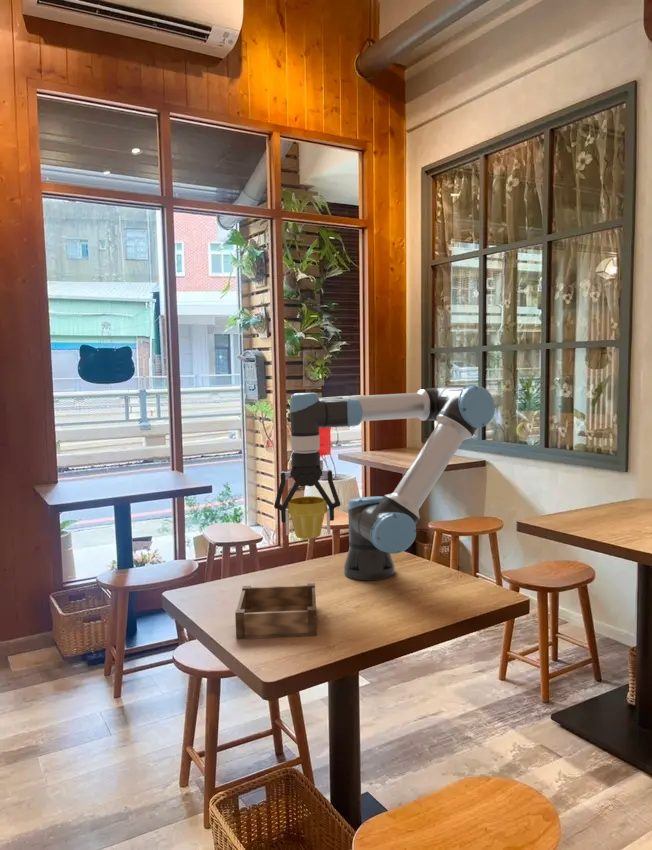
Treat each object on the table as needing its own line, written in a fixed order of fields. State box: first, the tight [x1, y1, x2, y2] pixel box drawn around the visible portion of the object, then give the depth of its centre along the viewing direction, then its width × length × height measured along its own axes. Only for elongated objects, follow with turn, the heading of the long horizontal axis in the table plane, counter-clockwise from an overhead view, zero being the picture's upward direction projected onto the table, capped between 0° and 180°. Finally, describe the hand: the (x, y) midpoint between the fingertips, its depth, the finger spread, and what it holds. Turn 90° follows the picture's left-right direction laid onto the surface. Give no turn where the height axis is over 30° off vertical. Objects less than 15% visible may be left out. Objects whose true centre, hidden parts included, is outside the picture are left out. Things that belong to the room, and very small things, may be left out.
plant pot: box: [287, 495, 328, 540], centre depth 172 cm, size 10×10×10 cm
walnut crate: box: [234, 582, 318, 640], centre depth 158 cm, size 19×19×6 cm
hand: (308, 533), depth 173 cm, fingers closed on plant pot, 10 cm apart
